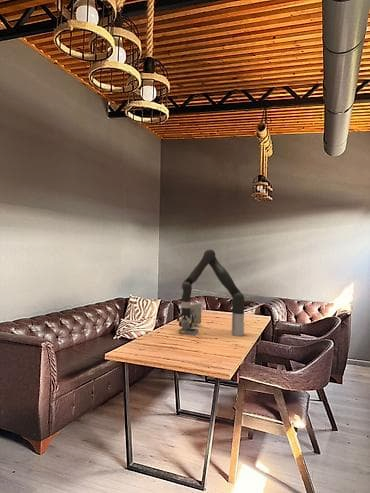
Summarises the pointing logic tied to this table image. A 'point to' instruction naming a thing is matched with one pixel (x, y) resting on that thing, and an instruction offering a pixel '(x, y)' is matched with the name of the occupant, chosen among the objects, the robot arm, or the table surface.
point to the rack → (189, 331)
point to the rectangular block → (185, 325)
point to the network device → (195, 315)
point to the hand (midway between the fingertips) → (185, 327)
